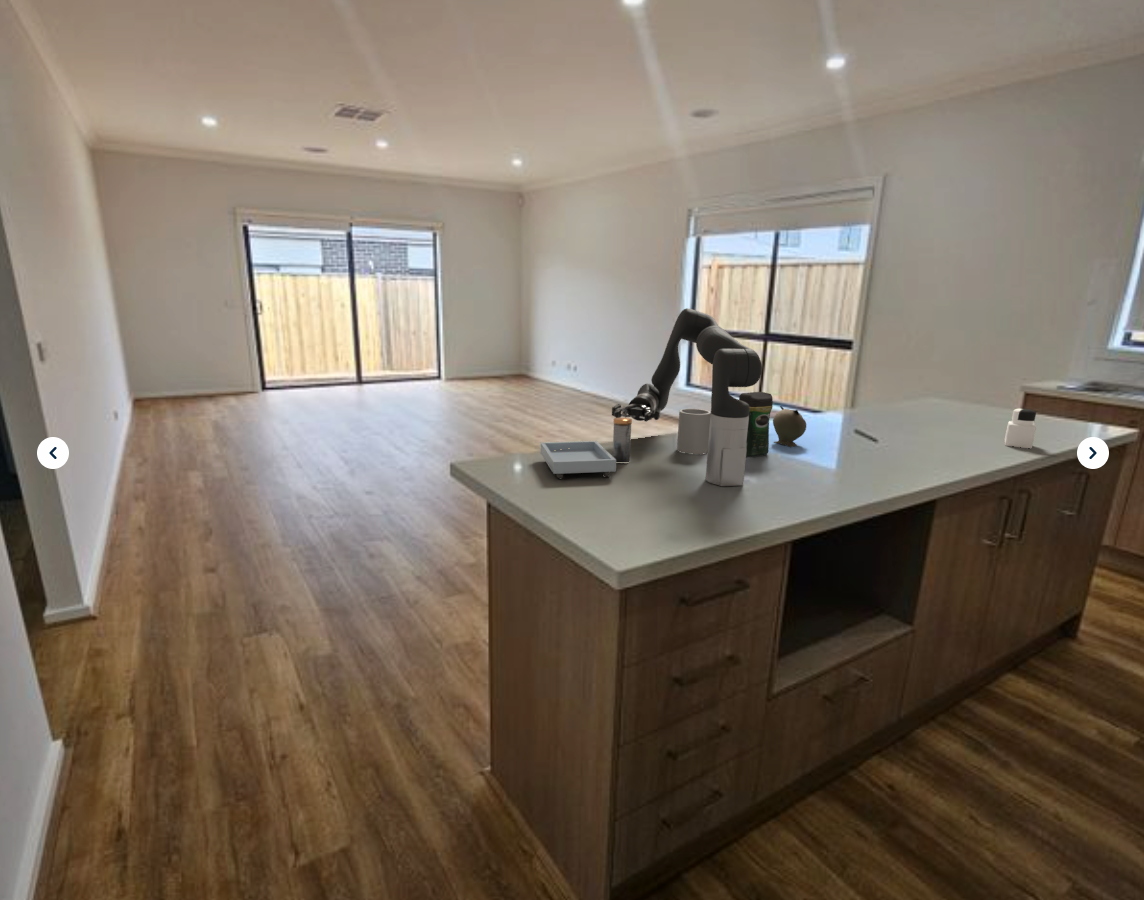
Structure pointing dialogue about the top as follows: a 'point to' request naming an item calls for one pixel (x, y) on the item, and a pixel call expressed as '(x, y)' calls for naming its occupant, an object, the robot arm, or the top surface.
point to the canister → (622, 439)
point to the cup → (693, 431)
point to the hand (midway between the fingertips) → (631, 416)
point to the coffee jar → (758, 422)
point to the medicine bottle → (1021, 429)
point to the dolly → (577, 457)
